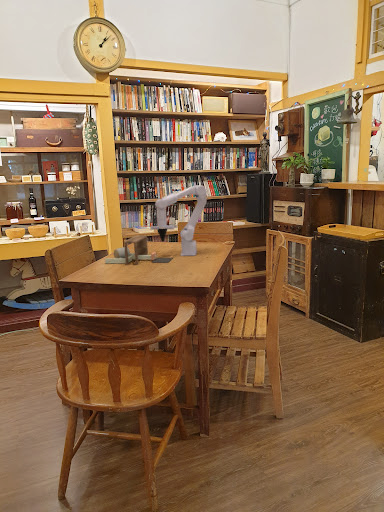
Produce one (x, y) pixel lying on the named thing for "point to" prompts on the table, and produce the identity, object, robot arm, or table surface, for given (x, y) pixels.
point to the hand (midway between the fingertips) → (163, 241)
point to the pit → (162, 260)
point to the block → (131, 258)
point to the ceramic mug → (120, 252)
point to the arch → (137, 247)
